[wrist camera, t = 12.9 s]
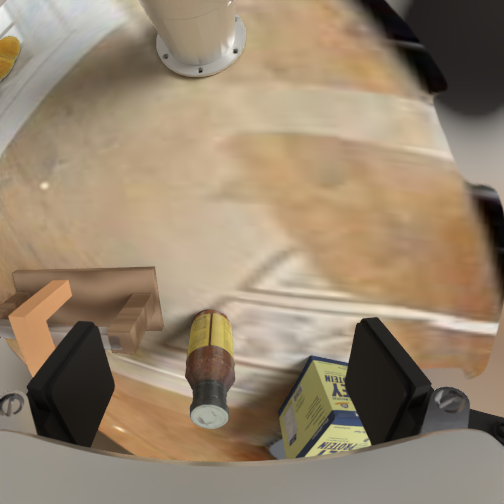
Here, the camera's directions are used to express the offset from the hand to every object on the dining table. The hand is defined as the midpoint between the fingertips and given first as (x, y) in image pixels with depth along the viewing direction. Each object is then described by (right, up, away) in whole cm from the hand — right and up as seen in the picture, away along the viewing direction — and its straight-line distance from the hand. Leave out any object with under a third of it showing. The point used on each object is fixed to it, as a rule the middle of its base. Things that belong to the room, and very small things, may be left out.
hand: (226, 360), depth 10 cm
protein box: (+13, -22, +42) cm, 49 cm away
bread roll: (-44, +38, +21) cm, 62 cm away
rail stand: (-27, -4, +34) cm, 44 cm away
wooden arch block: (-27, -5, +29) cm, 40 cm away
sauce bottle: (-5, -8, +36) cm, 38 cm away
